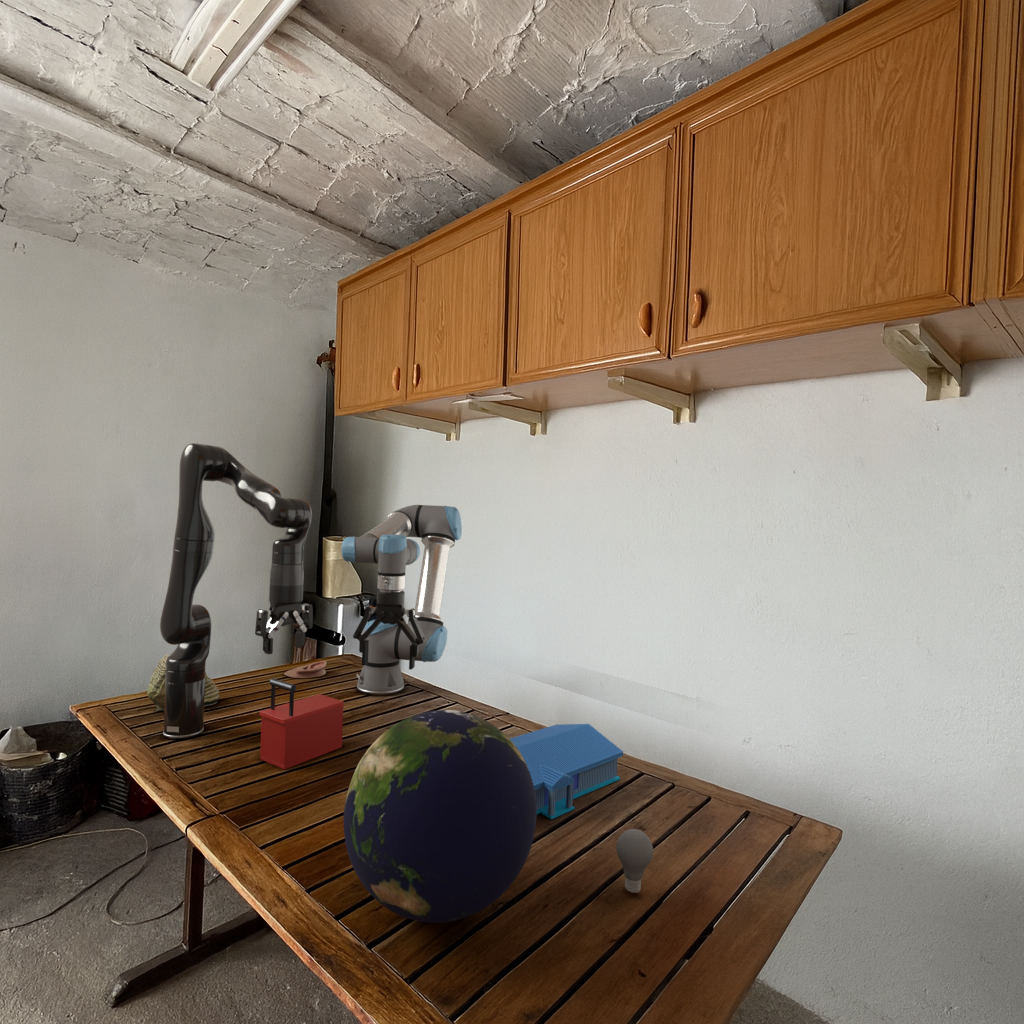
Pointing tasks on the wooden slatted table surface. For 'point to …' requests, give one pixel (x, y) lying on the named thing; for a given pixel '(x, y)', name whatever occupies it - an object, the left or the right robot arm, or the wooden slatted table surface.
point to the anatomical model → (308, 670)
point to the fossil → (158, 687)
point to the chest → (301, 738)
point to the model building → (567, 764)
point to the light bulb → (634, 857)
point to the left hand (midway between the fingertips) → (284, 650)
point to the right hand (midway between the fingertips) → (388, 666)
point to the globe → (440, 816)
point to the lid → (297, 705)
